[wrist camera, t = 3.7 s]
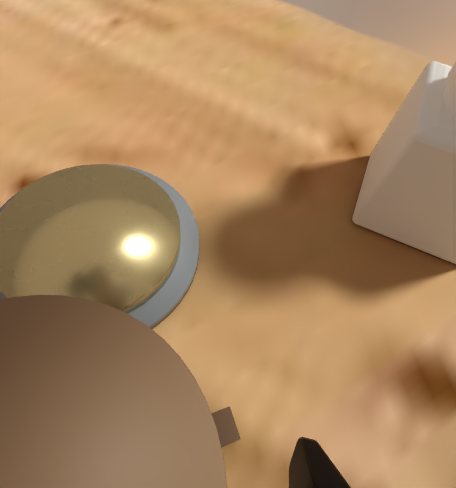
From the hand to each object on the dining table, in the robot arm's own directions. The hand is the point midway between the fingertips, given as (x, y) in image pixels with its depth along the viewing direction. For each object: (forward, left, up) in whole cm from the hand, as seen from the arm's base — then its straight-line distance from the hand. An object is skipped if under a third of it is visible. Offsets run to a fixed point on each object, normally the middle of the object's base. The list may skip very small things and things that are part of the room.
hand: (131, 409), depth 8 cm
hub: (+8, -4, -7) cm, 11 cm away
